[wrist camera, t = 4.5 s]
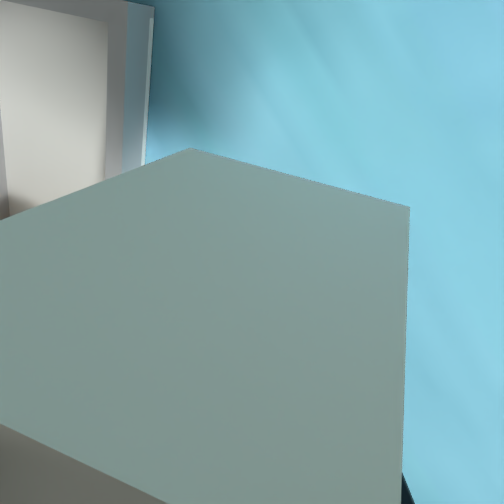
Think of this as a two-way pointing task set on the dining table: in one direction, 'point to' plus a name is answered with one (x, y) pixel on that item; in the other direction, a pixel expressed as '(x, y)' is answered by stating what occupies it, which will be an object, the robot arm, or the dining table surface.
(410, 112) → the dining table surface
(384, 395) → the cream rectangular block
